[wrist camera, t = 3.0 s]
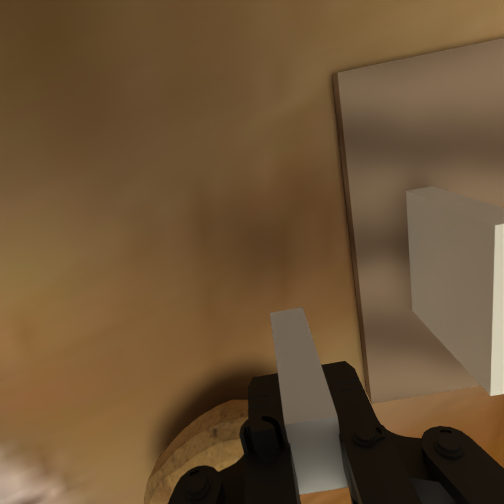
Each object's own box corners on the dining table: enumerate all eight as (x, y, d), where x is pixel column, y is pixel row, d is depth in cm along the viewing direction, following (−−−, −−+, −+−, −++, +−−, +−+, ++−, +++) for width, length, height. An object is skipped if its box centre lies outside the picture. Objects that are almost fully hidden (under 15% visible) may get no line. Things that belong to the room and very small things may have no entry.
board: (332, 75, 20) (337, 72, 19) (626, 14, 19) (649, 7, 18) (366, 392, 27) (371, 403, 26) (583, 356, 26) (599, 366, 25)
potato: (330, 395, 27) (362, 497, 20) (240, 512, 31) (238, 636, 24) (215, 341, 26) (203, 430, 18) (135, 472, 29) (97, 590, 22)
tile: (405, 191, 21) (495, 225, 14) (434, 185, 21) (539, 217, 14) (412, 310, 24) (490, 395, 16) (437, 306, 24) (527, 389, 16)
